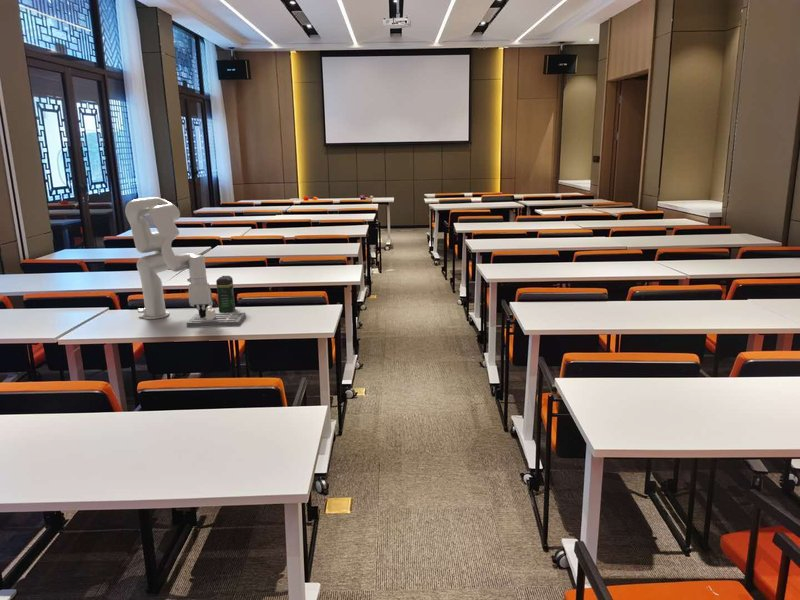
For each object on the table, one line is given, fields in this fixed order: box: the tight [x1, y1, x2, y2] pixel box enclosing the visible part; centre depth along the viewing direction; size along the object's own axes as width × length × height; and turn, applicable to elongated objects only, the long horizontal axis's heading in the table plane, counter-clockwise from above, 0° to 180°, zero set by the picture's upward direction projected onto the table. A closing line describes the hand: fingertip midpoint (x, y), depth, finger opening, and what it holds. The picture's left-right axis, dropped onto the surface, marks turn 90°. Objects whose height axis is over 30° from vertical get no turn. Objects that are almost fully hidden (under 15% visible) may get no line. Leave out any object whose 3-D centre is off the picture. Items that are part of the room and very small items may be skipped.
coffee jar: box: [215, 275, 236, 313], centre depth 306 cm, size 10×8×19 cm
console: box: [185, 305, 247, 328], centre depth 290 cm, size 25×15×7 cm, turn 92°
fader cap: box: [206, 308, 216, 320], centre depth 286 cm, size 3×5×4 cm, turn 2°
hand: (202, 317), depth 287 cm, fingers closed
